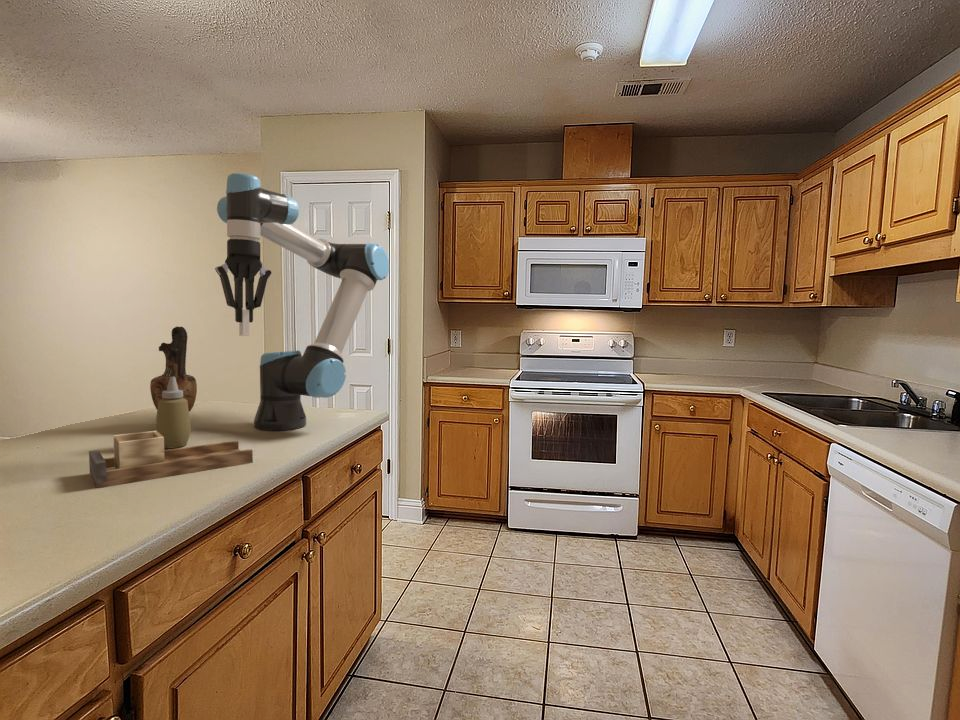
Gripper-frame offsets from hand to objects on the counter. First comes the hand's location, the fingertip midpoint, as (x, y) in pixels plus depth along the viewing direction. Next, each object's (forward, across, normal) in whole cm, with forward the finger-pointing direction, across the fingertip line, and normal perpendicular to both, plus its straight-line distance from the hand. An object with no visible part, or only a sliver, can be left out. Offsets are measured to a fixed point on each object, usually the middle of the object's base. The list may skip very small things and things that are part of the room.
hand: (244, 335), depth 131 cm
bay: (+29, +17, +6) cm, 34 cm away
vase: (+30, +8, -35) cm, 47 cm away
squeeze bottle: (+30, +13, -14) cm, 35 cm away
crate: (+28, +24, +6) cm, 37 cm away
